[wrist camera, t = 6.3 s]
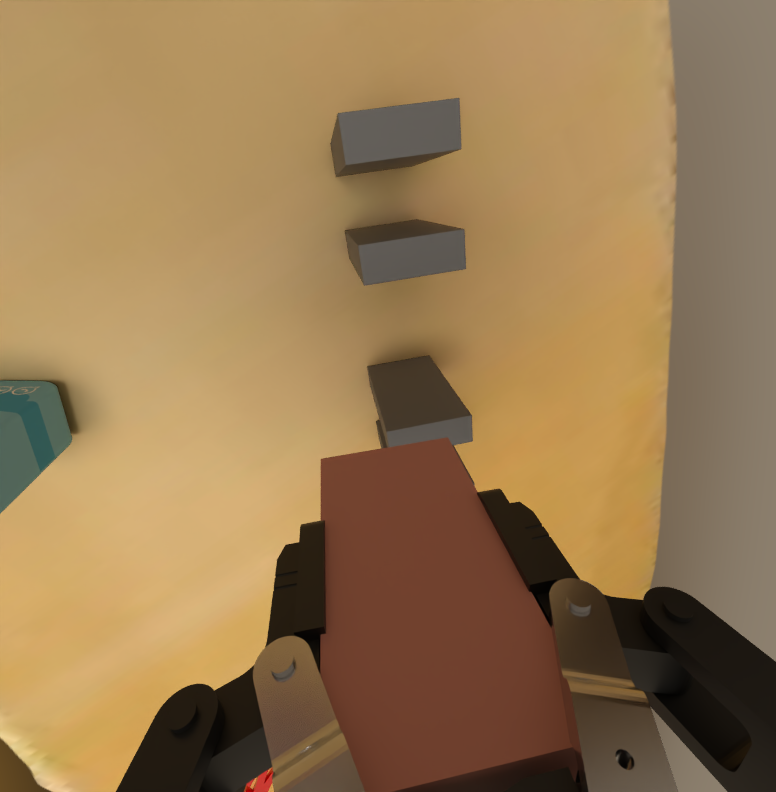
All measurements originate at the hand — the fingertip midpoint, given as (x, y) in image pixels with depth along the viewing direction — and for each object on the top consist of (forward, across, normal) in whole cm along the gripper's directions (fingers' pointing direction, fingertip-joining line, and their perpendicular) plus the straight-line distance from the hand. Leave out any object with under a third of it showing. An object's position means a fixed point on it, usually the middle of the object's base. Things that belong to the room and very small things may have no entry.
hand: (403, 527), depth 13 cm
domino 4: (+3, 0, 0) cm, 3 cm away
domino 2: (+20, -3, -7) cm, 21 cm away
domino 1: (+20, -3, -12) cm, 23 cm away
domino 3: (+20, -3, +3) cm, 20 cm away
